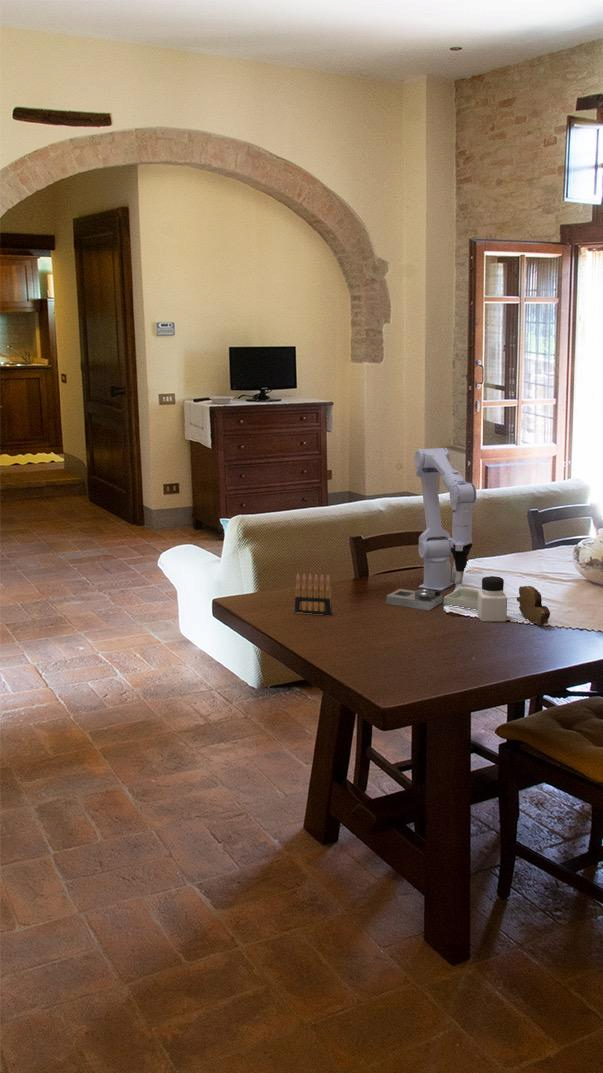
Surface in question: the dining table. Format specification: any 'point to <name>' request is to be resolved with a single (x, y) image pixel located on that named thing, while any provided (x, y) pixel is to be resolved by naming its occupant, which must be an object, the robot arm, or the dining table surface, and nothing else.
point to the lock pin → (456, 575)
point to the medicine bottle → (492, 600)
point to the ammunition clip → (313, 596)
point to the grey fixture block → (415, 598)
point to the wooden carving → (532, 605)
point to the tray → (462, 599)
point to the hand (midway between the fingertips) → (461, 569)
